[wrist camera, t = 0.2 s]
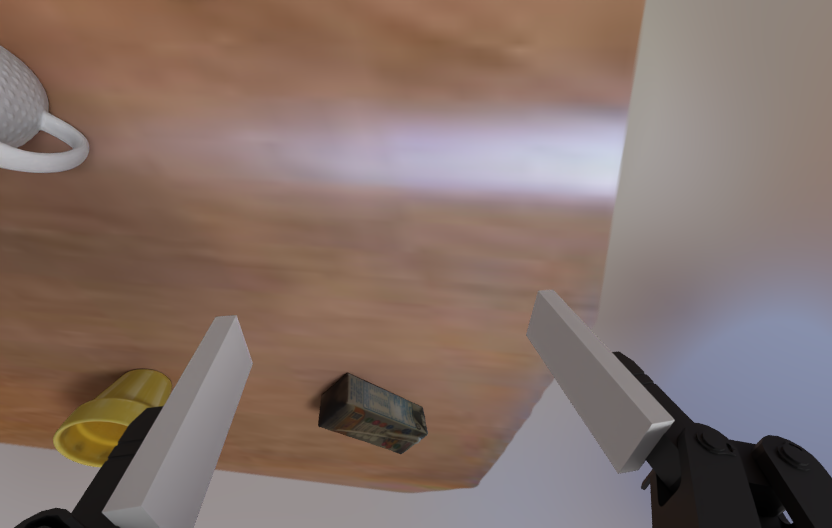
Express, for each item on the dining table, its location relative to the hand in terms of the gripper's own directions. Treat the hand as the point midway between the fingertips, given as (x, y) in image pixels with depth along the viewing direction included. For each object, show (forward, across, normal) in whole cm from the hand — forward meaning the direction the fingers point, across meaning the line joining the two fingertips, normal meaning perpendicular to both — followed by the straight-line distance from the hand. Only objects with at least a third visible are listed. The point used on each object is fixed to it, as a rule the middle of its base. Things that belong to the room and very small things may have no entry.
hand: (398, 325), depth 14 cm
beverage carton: (+28, -1, -43) cm, 52 cm away
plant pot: (+28, -36, -32) cm, 55 cm away
